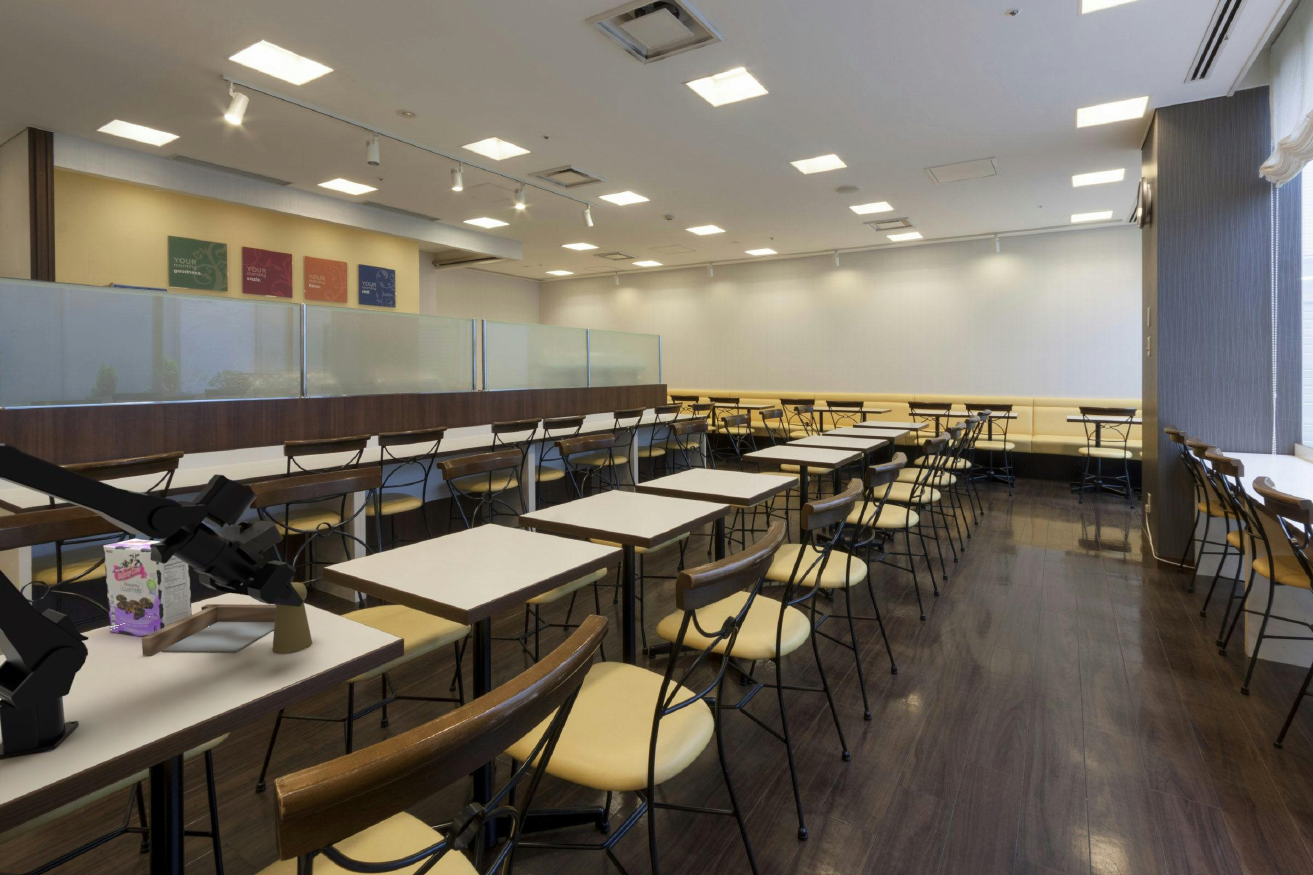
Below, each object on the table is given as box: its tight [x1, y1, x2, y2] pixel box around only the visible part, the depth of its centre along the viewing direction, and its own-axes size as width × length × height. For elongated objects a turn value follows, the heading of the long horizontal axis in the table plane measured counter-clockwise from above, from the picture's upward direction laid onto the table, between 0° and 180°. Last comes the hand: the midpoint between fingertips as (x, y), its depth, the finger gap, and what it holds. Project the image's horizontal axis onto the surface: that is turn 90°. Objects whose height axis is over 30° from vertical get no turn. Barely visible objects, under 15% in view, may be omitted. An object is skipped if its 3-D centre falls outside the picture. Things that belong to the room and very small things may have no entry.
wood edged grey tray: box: [141, 603, 276, 657], centre depth 114 cm, size 16×19×3 cm
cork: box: [271, 581, 313, 655], centre depth 109 cm, size 6×6×11 cm
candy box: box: [102, 538, 193, 638], centre depth 117 cm, size 14×6×16 cm, turn 73°
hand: (284, 599), depth 108 cm, fingers open, 9 cm apart
